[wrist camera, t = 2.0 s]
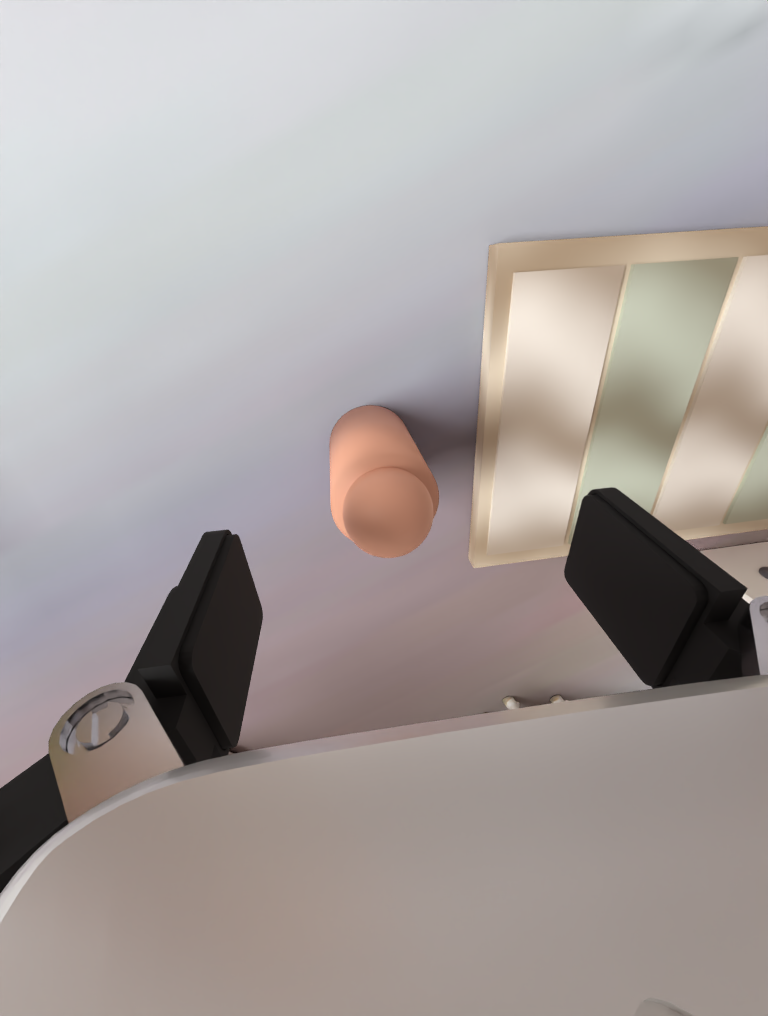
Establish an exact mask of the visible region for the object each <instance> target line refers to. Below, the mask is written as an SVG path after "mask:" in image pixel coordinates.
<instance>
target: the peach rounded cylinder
mask: <svg viewBox="0 0 768 1016" xmlns="http://www.w3.org/2000/svg"><path fill="white" fill-rule="evenodd" d="M330 494H331V512H332V516H333V519H334V521H335V523H336V525H337V527H338V528H339V529H340V531H341V532H342V533H343V534H344V535H345V536H346V537H348V538H349V539H350V540H352V541H353V542H354V543H355V544H356V545H357V546H358V547H359V548H360V549H362V550H363V551H365V552H367V553H368V554H371V555H373V556H377V557H382V558H394V557H399V556H403V555H405V554H408V553H410V552H411V551H413V550H414V549H416V548H417V547H418V546H419V545H420V544H421V543H422V542H423V541H424V540H425V538H426V537H427V535H428V533H429V531H430V529H431V526H432V522H433V518H434V516H435V514H436V511H437V508H438V503H439V491H438V486H437V483H436V481H435V479H434V477H433V475H432V473H431V471H430V470H429V468H428V466H427V464H426V462H425V461H424V459H423V457H422V455H421V453H420V452H419V450H418V448H417V446H416V444H415V443H414V441H413V439H412V437H411V435H410V433H409V432H408V430H407V428H406V426H405V425H404V423H403V421H402V420H401V419H400V418H399V417H398V416H397V415H396V414H395V413H394V412H392V411H390V410H389V409H386V408H384V407H380V406H374V405H366V406H361V407H357V408H355V409H352V410H350V411H349V412H347V413H346V414H344V415H343V416H342V417H341V418H340V419H339V420H338V421H337V423H336V424H335V426H334V428H333V430H332V433H331V436H330Z"/></svg>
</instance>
